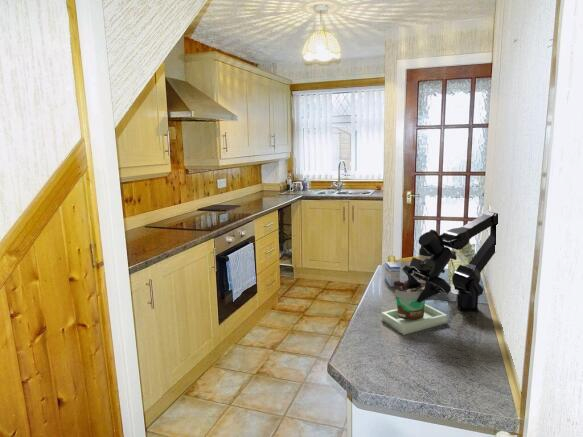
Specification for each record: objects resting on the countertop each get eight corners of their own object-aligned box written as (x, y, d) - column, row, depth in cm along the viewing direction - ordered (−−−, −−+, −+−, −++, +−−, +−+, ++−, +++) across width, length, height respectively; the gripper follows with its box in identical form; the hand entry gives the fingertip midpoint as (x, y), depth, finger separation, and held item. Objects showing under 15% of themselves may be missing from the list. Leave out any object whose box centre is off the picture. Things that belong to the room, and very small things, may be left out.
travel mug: (417, 280, 185) (417, 240, 181) (436, 280, 184) (437, 240, 180) (420, 286, 177) (420, 245, 174) (439, 286, 176) (441, 245, 172)
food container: (406, 324, 139) (405, 295, 137) (394, 318, 144) (394, 290, 143) (435, 316, 144) (435, 288, 142) (423, 310, 149) (422, 283, 148)
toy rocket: (430, 276, 171) (392, 279, 173) (433, 277, 163) (393, 280, 166) (432, 293, 170) (394, 296, 173) (435, 295, 163) (395, 298, 165)
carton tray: (422, 310, 154) (422, 302, 153) (447, 323, 143) (447, 314, 142) (381, 320, 147) (381, 312, 146) (403, 334, 136) (403, 326, 135)
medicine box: (384, 280, 186) (384, 261, 184) (394, 280, 186) (394, 261, 185) (390, 286, 178) (390, 267, 177) (400, 286, 179) (400, 266, 177)
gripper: (406, 242, 150) (380, 277, 148) (444, 255, 133) (416, 295, 131) (423, 260, 154) (399, 294, 152) (463, 274, 138) (436, 313, 135)
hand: (411, 298), depth 143 cm, fingers closed on food container, 6 cm apart
